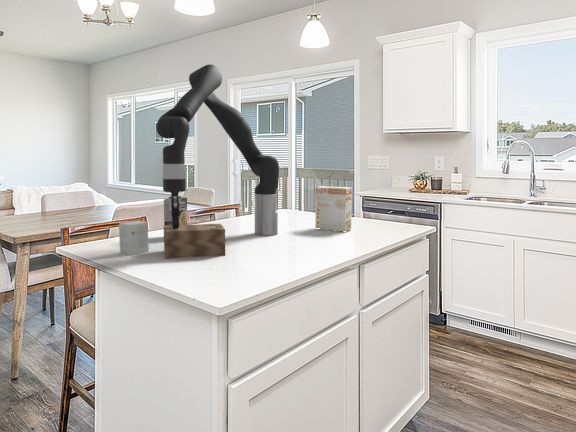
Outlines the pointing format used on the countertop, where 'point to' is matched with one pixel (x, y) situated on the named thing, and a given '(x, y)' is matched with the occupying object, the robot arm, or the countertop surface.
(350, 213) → the coffeecake box
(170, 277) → the countertop surface
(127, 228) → the small box
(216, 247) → the walnut block
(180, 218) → the coffee box
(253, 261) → the countertop surface
